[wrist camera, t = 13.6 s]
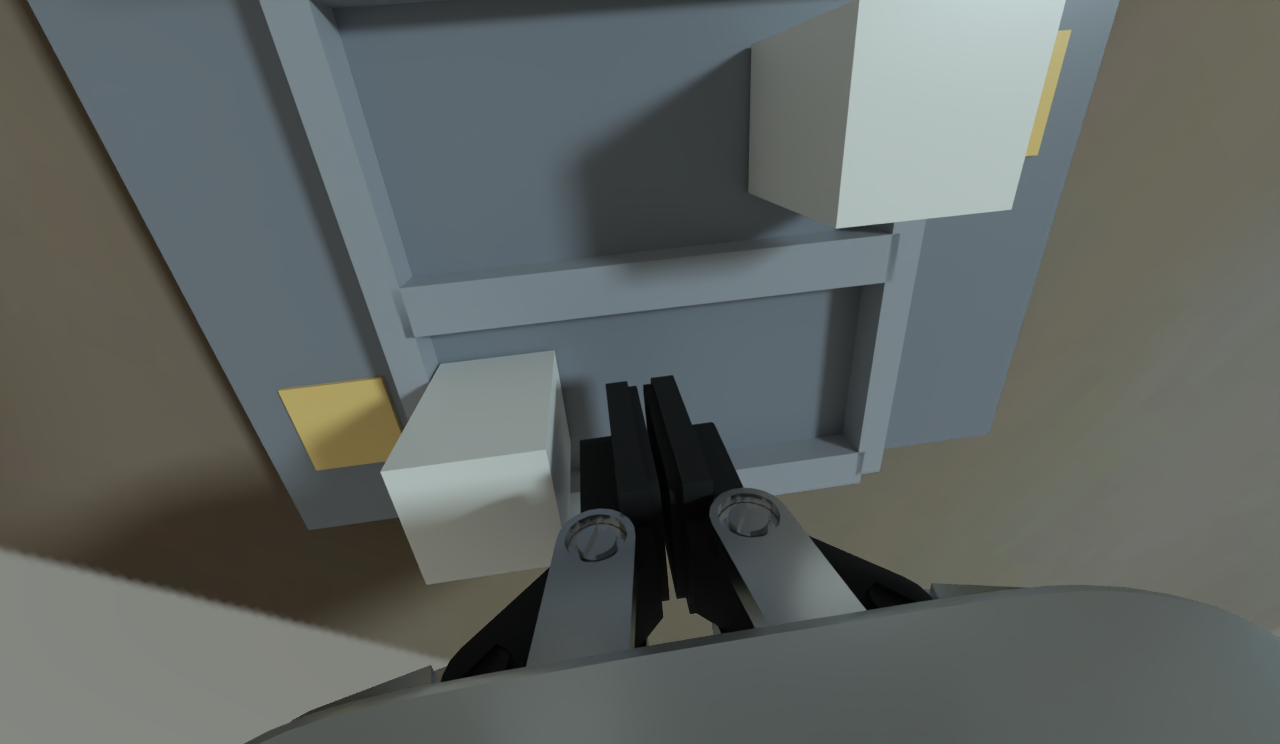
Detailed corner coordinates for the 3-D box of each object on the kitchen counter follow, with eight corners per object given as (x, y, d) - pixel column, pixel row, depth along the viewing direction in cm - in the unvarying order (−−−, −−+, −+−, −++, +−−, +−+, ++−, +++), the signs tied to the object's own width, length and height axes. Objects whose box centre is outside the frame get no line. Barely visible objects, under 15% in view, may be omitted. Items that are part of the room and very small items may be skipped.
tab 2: (885, 34, 11) (1071, -20, 7) (867, 180, 12) (1011, 209, 8) (751, 44, 10) (859, -4, 6) (748, 192, 12) (835, 228, 8)
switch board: (1219, -598, 8) (1450, -856, 6) (955, 419, 18) (1009, 460, 16) (-206, -615, 7) (-575, -963, 5) (334, 504, 16) (296, 564, 14)
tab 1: (554, 350, 13) (545, 449, 9) (570, 442, 14) (569, 563, 11) (440, 364, 13) (379, 472, 9) (467, 456, 14) (426, 585, 10)
